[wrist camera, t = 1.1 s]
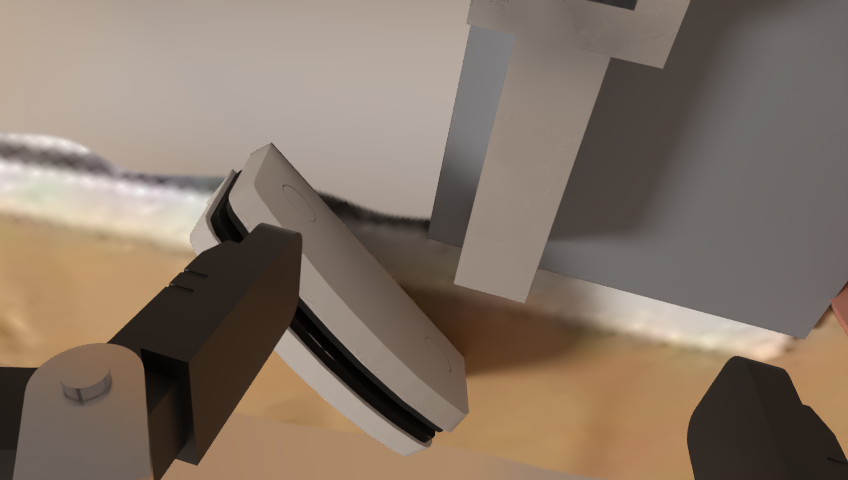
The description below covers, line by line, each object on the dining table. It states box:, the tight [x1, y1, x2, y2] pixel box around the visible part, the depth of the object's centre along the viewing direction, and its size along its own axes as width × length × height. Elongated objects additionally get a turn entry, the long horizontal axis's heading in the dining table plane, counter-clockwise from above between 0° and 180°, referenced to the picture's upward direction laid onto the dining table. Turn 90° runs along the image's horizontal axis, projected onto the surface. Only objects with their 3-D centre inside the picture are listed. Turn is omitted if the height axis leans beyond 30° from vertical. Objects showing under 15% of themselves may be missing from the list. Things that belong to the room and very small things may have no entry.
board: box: [427, 0, 848, 339], centre depth 22 cm, size 20×18×1 cm
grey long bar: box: [454, 0, 690, 303], centre depth 20 cm, size 16×6×5 cm, turn 170°
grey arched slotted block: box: [190, 142, 469, 456], centre depth 28 cm, size 17×5×10 cm, turn 40°
